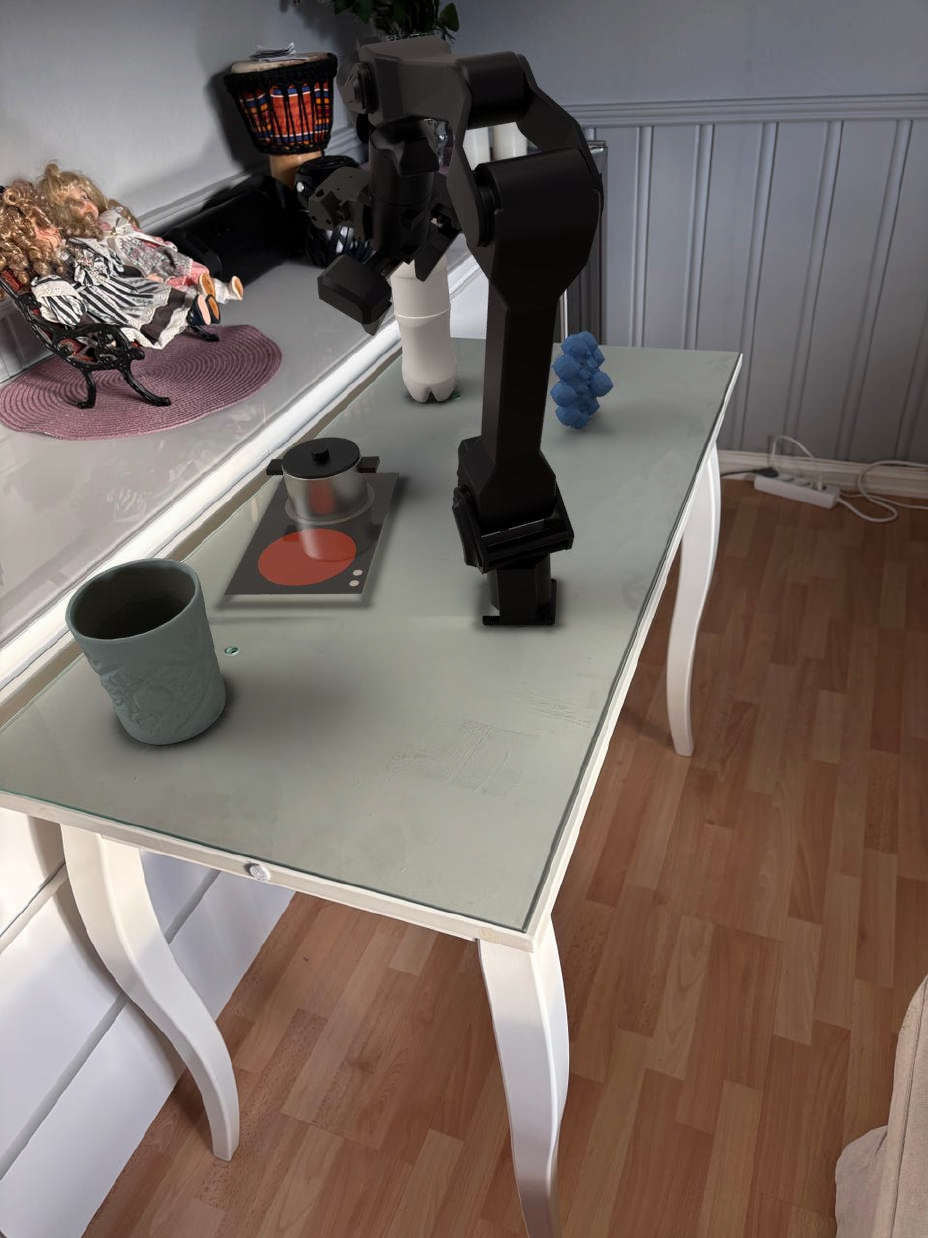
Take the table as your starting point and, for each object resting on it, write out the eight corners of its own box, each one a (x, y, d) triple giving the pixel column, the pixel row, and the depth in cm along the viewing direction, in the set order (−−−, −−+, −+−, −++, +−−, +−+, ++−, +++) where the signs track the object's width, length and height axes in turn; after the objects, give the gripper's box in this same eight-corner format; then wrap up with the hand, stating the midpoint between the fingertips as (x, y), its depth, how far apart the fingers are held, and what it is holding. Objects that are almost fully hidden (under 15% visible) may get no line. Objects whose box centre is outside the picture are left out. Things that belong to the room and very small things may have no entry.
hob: (365, 605, 85) (363, 595, 84) (222, 606, 87) (219, 596, 86) (403, 480, 103) (402, 470, 102) (284, 482, 105) (281, 473, 104)
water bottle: (399, 389, 122) (371, 189, 106) (450, 378, 123) (430, 179, 108) (413, 411, 116) (385, 203, 101) (466, 399, 118) (447, 192, 102)
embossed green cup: (181, 655, 82) (140, 544, 74) (262, 692, 77) (227, 578, 69) (90, 726, 75) (35, 613, 68) (173, 772, 71) (123, 655, 63)
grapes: (594, 456, 103) (594, 355, 96) (539, 446, 106) (536, 347, 99) (630, 412, 111) (633, 315, 104) (578, 404, 114) (577, 309, 106)
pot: (376, 520, 94) (367, 467, 91) (267, 522, 96) (253, 470, 92) (389, 479, 101) (381, 428, 97) (287, 481, 102) (275, 431, 99)
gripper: (387, 86, 86) (384, 217, 100) (263, 199, 79) (279, 323, 93) (485, 141, 85) (468, 266, 99) (367, 261, 77) (367, 377, 92)
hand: (395, 305), depth 96 cm, fingers open, 9 cm apart
